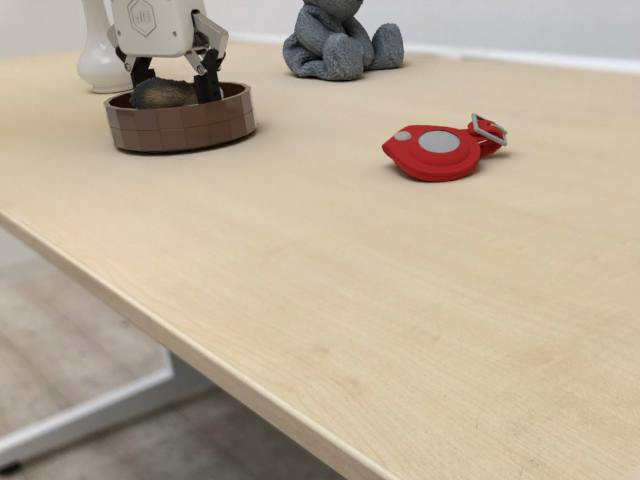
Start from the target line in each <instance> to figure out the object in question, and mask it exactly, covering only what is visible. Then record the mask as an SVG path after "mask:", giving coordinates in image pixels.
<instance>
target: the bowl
mask: <svg viewBox="0 0 640 480" xmlns="http://www.w3.org/2000/svg"><path fill="white" fill-rule="evenodd" d="M218 81H219V86H220V88H221V89H222V90H223V95H224V99H222V100H217V101H212V102H207V103H202V104H194V105H187V106H180V107H169V108H157V109H136V107H135V106H132V103H131V102H129V100H130V98H131V97H132V96H131V93H132V92H133V90H130V91H129V90H128V91H126V92H125V91H124V92H121V93H119V94H115V95H113V96H111V97H108V98H107V99H105V100H104V101H103V102H102V105H103V109H104V112H105V117H106V121H107V125H108V129H109V134H110V138H111V141H112V143H113V144H114V146H115V147H117V148H119V149H123V150H127V151H137V152H142V153H150V152H168V153H178V152H177V151H182V152H187V151H186V150H191V151H196V150H195V149H198V150H202V148H203V149H208V147H209V148H213V147H217V146H221V145H224V143H225V144H227V142H228V143H230V142H229V141H231V142H233V141H235V140H238V139H239V138H242V137H244V136H247V135H249V134H250V133H252V132H254V131H255V130H256V129H257V125H258V122H257V117H256V110H255V105H254V98H253V91H252V86H250V85H248V84H247V83H242V82H237V81H222V80H218ZM187 83H188V84H190V85H191V86H192V87H193V89H194V90H195V85H194V81H191V82H187ZM195 93H196V90H195ZM234 139H235V140H234ZM232 140H233V141H232ZM220 144H221V145H220ZM175 151H176V152H175Z"/></svg>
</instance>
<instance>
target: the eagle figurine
mask: <svg viewBox="0 0 640 480" xmlns="http://www.w3.org/2000/svg"><path fill="white" fill-rule="evenodd" d="M136 86H137V87H136V88H134V89H133V88H132V89H133V90H132V91H133V92H132V93H131V96H132V97H131V98H130V100H129V102H131V103H132V106H135V107H136V109H157V108H169V107H180V106H187V105H194V104H198V101H197V95H196V93H195V90H194V89H193V87H192V86H191V85H190V84H188V82H187V81H186V80H184V79H182V80H177V79H176V80H175V79H173V78H170V79H168V78H164V77H163V78H162V77H159V76H156V77H152V79H150V78H149V79H148V80H145V81H143V82H141V83H140V84H137V85H136ZM220 92H221V97H222V99H224V95H223V90H222V89H221V88H220Z"/></svg>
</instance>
